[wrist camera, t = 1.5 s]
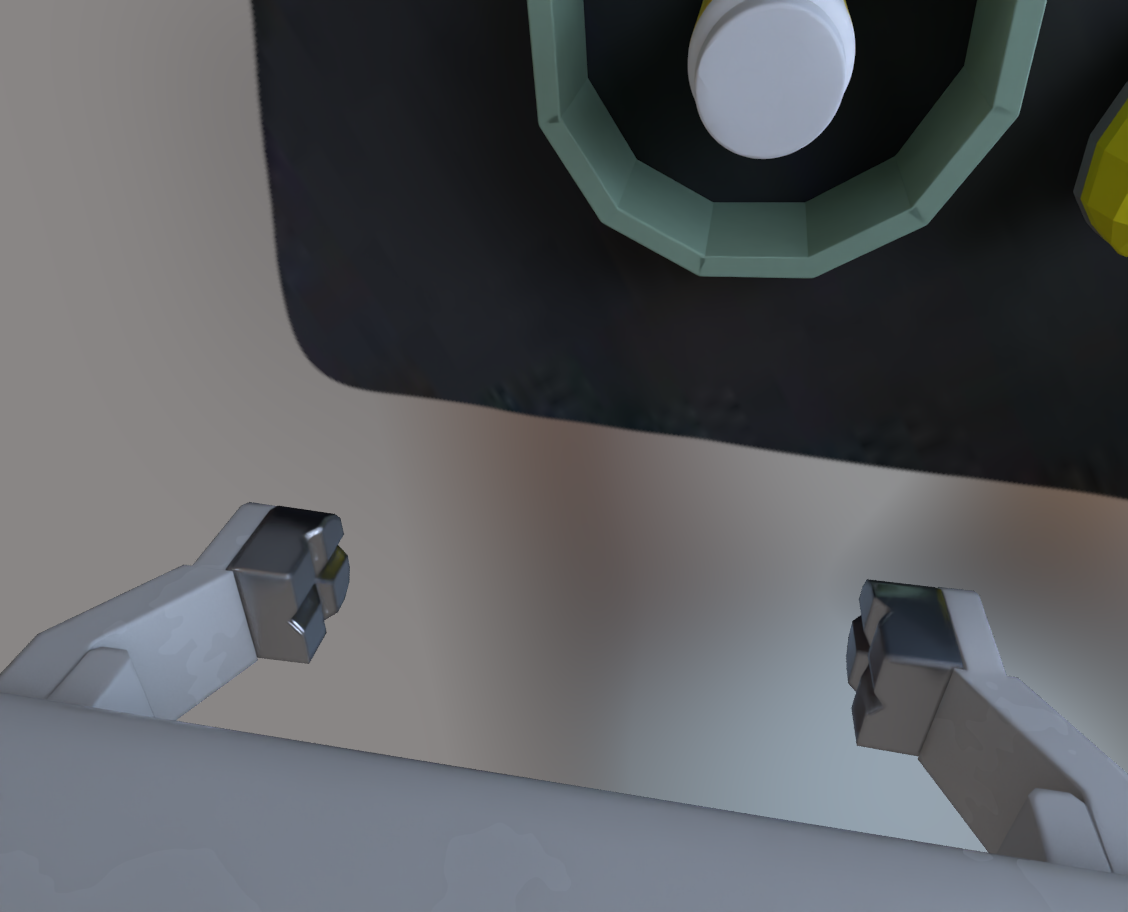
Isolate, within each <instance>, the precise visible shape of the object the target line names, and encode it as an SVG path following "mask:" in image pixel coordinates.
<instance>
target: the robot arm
mask: <svg viewBox="0 0 1128 912" xmlns="http://www.w3.org/2000/svg"><path fill="white" fill-rule="evenodd" d="M343 535H344V533H343V528H342V523H341V519H340V517H338V516H337V515H335V514H331V513H324V512H317V511H311V510H304V509H297V508H290V507H284V506H272V505H266V504H259V503H252V502H249V503H246V504H244V505H242V506H241V507H239V509H238V510H237V511H236V512H235V514H234V515H233V516H232V517H231V519H230V520H229V521H228V522H227V523H226V525H225V526H224V527H223V529H222V530H221V531H220V532H219V533H218V535H217V536H216V537H215V538H214V540H213V541H212V542H211V543H210V544H209V546H208V547H207V548H206V549H205V551H204V552H203V553H202V554H201V555H200V557H199V558H198V559H197V560H196V562H195V563H194V564H193V565H192V566H189V565H182V566H180V567H178V568H176V569H173V570H171V571H169V572H167V573H165V574H163V575H161V576H159V577H157V578H154V579H152V580H150V581H148V582H146V583H144V584H142V585H140V586H138V587H136V588H133V589H131V590H129V591H127V592H125V593H123V594H121V595H119V596H117V597H114V598H113V599H110V600H108V601H107V602H104V603H102V604H100V605H98V606H96V607H93V608H91V609H89V610H87V611H85V612H83V613H81V614H79V615H77V616H75V617H72V618H70V619H68V620H66V621H64V622H62V623H60V624H58V625H56V626H54V627H52V628H49V629H47V630H45V631H43V632H41V633H39V634H37V635H36V636H35V638H34V639H33V640H32V641H31V642H30V643H29V644H28V645H27V646H26V647H25V648H24V649H23V650H22V652H20V653H19V654H18V655H17V656H16V658H15V659H14V660H13V661H12V662H11V663H10V664H9V665H8V666H7V667H6V668H5V669H4V670H3V671H2V672H1V674H0V912H1128V773H1126V772H1125V771H1124V770H1123V769H1122V768H1120V766H1118V765H1117V764H1116V763H1115V762H1114V761H1113V760H1112V759H1110V758H1109V757H1108V756H1107V755H1106V754H1105V753H1104V752H1102V751H1101V750H1100V749H1099V748H1098V747H1096V745H1094V744H1093V743H1092V742H1091V741H1090V740H1089V739H1087V738H1086V737H1085V736H1084V735H1083V734H1082V733H1081V732H1080V731H1078V730H1077V729H1076V728H1075V727H1074V726H1073V725H1071V724H1070V723H1069V722H1068V721H1067V720H1066V719H1065V718H1064V717H1062V716H1061V715H1060V714H1059V713H1058V712H1057V711H1056V710H1054V709H1053V708H1052V707H1051V706H1050V705H1049V704H1047V702H1045V701H1044V700H1043V699H1042V698H1041V697H1040V696H1039V695H1037V694H1036V693H1035V692H1034V691H1033V690H1032V689H1030V688H1029V687H1028V686H1027V685H1026V684H1025V683H1024V682H1023V681H1021V680H1020V679H1019V678H1018V677H1012V676H1007V674H1006V671H1005V669H1004V666H1003V663H1002V660H1001V657H1000V654H999V651H998V648H997V646H996V642H995V640H994V637H993V634H992V631H991V628H990V625H989V622H988V619H987V616H986V613H985V611H984V607H983V604H982V602H981V599H980V596H979V595H978V594H977V593H976V592H975V591H972V590H962V589H952V588H942V587H938V588H935V587H928V586H919V585H911V584H902V583H893V582H885V581H876V580H868V579H867V580H866V582H865V584H864V585H863V587H862V591H861V594H860V597H859V603H860V609H861V616H859V617H858V618H856V619H855V620H853V621H852V626H851V629H850V633H849V637H848V645H847V654H846V660H847V661H846V662H847V676H848V683H849V685H850V686H851V687H852V688H853V689H854V690H855V691H856V695H855V698H854V701H853V705H852V715H853V721H854V729H855V736H856V743H857V746H863V747H868V748H874V749H879V750H886V751H891V752H897V753H902V754H908V755H914V756H919V757H918V760H919V761H920V762H921V764H922V765H923V767H924V768H925V769H926V770H927V772H928V773H929V774H930V776H931V777H932V778H933V780H934V781H935V782H936V784H937V785H938V786H939V788H940V789H941V790H942V792H943V793H944V794H945V795H946V797H947V798H948V800H949V801H950V802H951V803H952V805H953V806H954V808H955V809H956V810H957V811H958V813H959V814H960V815H961V817H962V818H963V819H964V821H965V822H966V823H967V825H968V826H969V827H970V829H971V830H972V831H973V833H974V834H975V835H976V837H977V838H978V839H979V841H980V842H981V843H982V844H983V846H984V847H985V848H986V850H987V851H988V852H989V853H986V852H980V851H974V850H968V849H962V848H955V847H949V846H943V845H936V844H931V843H924V842H918V841H912V840H906V839H900V838H894V837H888V836H882V835H875V834H869V833H863V832H857V831H851V830H844V829H838V828H832V827H826V826H819V825H813V824H807V823H801V822H795V821H788V820H782V819H776V818H770V817H764V816H757V815H751V814H746V813H739V812H734V811H727V810H721V809H715V808H709V807H703V806H696V805H691V804H685V803H679V802H673V801H666V800H660V799H654V798H648V797H641V796H636V795H630V794H624V793H618V792H611V791H605V790H599V789H593V788H586V787H580V786H574V785H568V784H562V783H556V782H550V781H544V780H538V779H531V778H525V777H519V776H513V775H507V774H500V773H494V772H488V771H482V770H476V769H470V768H464V767H457V766H451V765H445V764H439V763H433V762H427V761H420V760H414V759H408V758H402V757H396V756H390V755H383V754H377V753H371V752H364V751H359V750H353V749H347V748H340V747H334V746H328V745H321V744H316V743H310V742H303V741H297V740H291V739H285V738H279V737H273V736H267V735H260V734H254V733H248V732H241V731H236V730H230V729H224V728H217V727H210V726H205V725H199V724H193V723H187V722H181V721H176V720H177V719H178V718H180V717H181V716H182V715H184V714H185V713H186V712H188V711H189V710H191V709H192V708H193V707H195V706H196V705H197V704H199V703H200V702H202V701H203V700H204V699H206V698H207V697H208V696H210V695H211V694H212V693H214V692H215V691H217V690H218V689H219V688H221V687H222V686H223V685H225V684H226V683H228V682H229V681H230V680H232V679H233V678H234V677H236V676H237V675H238V674H240V673H241V672H242V671H244V670H245V669H247V668H248V667H249V666H251V665H252V664H253V663H255V662H256V661H257V660H258V659H257V658H265V659H274V660H282V661H290V662H298V663H307V664H309V663H310V661H311V659H312V658H313V656H314V654H315V652H316V650H317V648H318V647H319V645H320V643H321V642H322V640H323V638H324V636H325V634H326V628H325V623H324V620H326V619H327V618H329V617H331V616H332V615H334V614H335V613H337V612H338V611H339V609H340V607H341V605H342V603H343V601H344V599H345V596H346V592H347V589H348V584H349V576H350V574H349V573H350V566H349V560H348V555H347V554H346V553H345V552H344V551H343V550H342V549H341V548H340V547H339V546H338V543H339V542H340V540H341V538H342V537H343Z"/></svg>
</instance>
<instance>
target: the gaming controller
mask: <svg viewBox="0 0 1128 912" xmlns="http://www.w3.org/2000/svg"><path fill="white" fill-rule="evenodd" d="M1073 193H1074V195H1075V198H1076V200H1077V202H1078V205H1079V207H1080V210H1081V212H1082V214H1083V217H1084V219H1085V221H1086V222H1087V224H1088V225H1089V226H1090V227H1091V228H1092V229H1093V230H1094V232H1095V233H1096V234H1098V235H1099V236H1100V237H1102V238H1103V239H1104V240H1105V241H1107V242H1108V243H1109V244H1110V245H1111V246H1112V247H1113V248H1114V250H1115V251H1116V252H1117V253H1118V254H1120V255H1123V256H1125V257H1128V81H1127V82H1126V84H1125V85H1124V87H1123V88H1122V90H1121V91H1120V92H1119V94H1118V95H1117V97H1116V98H1115V100H1114V101H1113V102H1112V104H1111V105H1110V107H1109V108H1108V110H1107V111H1106V113H1105V114H1104V115H1103V117H1102V118H1101V120H1100V121H1099V123H1098V124H1097V125H1096V127H1095V128H1094V130H1093V131H1092V133H1091V134H1090V136H1089V139H1088V143H1087V146H1086V149H1085V153H1084V156H1083V160H1082V163H1081V166H1080V170H1079V173H1078V177H1077V180H1076V183H1075V187H1074V190H1073Z"/></svg>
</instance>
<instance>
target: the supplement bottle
mask: <svg viewBox="0 0 1128 912" xmlns="http://www.w3.org/2000/svg"><path fill="white" fill-rule="evenodd" d="M854 59H855V35H854V29H853V24H852V21H851V17H850V14H849V11H848V7H847V4H846V1H845V0H703V2H702V6H701V9H700V12H699V15H698V18H697V21H696V24H695V27H694V30H693V33H692V36H691V40H690V44H689V51H688V77H689V83H690V87H691V91H692V94H693V97H694V99H695V102H696V106H697V110H698V113H699V116H700V118H701V120H702V122H703V124H704V126H705V128H706V129H707V131H708V132H709V133H710V135H711V136H712V137H713V138H714V139H715V140H716V141H717V142H718V143H719V144H721V145H722V146H723V147H725V148H726V149H728V150H730V151H731V152H733V153H736V154H738V155H741V156H745V157H749V158H755V159H770V158H777V157H781V156H785V155H788V154H791V153H793V152H795V151H797V150H799V149H801V148H803V147H805V146H806V145H808V144H809V143H811V142H812V141H813V140H814V139H815V138H817V137H818V136H819V135H820V134H821V133H822V132H823V131H824V129H825V128H826V127H827V126H828V124H829V123H830V122H831V120H832V119H833V117H834V116H835V114H836V112H837V110H838V108H839V106H840V103H841V100H842V97H843V94H844V92H845V90H846V88H847V86H848V84H849V81H850V78H851V75H852V71H853V66H854Z"/></svg>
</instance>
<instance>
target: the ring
mask: <svg viewBox="0 0 1128 912" xmlns="http://www.w3.org/2000/svg"><path fill="white" fill-rule="evenodd" d="M1046 2H1047V0H977V3H976V8H975V13H974V18H973V23H972V28H971V33H970V38H969V44H968V49H967V54H966V59H965V64H964V67H963V68H962V69H961V71H960V72H959V73H958V74H957V76H956V77H955V78H954V80H953V81H952V82H951V84H950V85H949V86H948V88H947V89H946V90H945V92H944V93H943V94H942V95H941V97H940V98H939V99H938V101H937V102H936V103H935V105H934V106H933V107H932V109H931V110H930V111H929V112H928V114H927V115H926V116H925V118H924V119H923V120H922V122H921V123H920V124H919V126H918V127H917V128H916V129H915V131H914V132H913V133H912V135H911V136H910V137H909V139H908V140H907V141H906V143H905V144H904V145H903V147H902V148H901V149H900V150H899V152H898V153H897V154H896V156H894V157H892V158H890V159H889V160H887V161H885V162H883V163H881V164H879V165H877V166H875V167H873V168H871V169H869V170H867V171H865V172H863V173H861V174H859V175H857V176H855V177H854V178H852V179H850V180H848V181H846V182H844V183H842V184H840V185H838V186H836V187H834V188H832V189H830V190H828V191H826V192H824V193H822V194H820V195H819V196H817V197H815V198H813V199H811V200H809V201H807V202H711V201H710V200H708V199H706V198H704V197H703V196H701V195H699V194H697V193H696V192H694V191H692V190H690V189H688V188H687V187H685V186H683V185H681V184H680V183H678V182H676V181H674V180H672V179H671V178H669V177H667V176H665V175H664V174H662V173H660V172H658V171H657V170H655V169H653V168H651V167H649V166H648V165H646V164H644V163H642V162H641V161H639V160H637V159H636V157H635V155H634V154H633V152H632V150H631V149H630V147H629V145H628V144H627V142H626V140H625V139H624V137H623V136H622V134H621V132H620V131H619V129H618V127H617V126H616V124H615V122H614V121H613V119H612V117H611V116H610V114H609V112H608V111H607V109H606V107H605V106H604V104H603V102H602V101H601V99H600V97H599V96H598V94H597V92H596V91H595V89H594V87H593V86H592V84H591V82H590V81H589V79H588V73H587V56H586V38H585V21H584V3H583V0H527V8H528V19H529V30H530V40H531V51H532V62H533V72H534V83H535V94H536V104H537V115H538V123H539V127H540V128H541V130H542V131H543V133H544V134H545V136H546V137H547V139H548V140H549V142H550V144H551V145H552V147H553V148H554V150H555V151H556V153H557V154H558V156H559V158H560V159H561V161H562V162H563V164H564V165H565V167H566V168H567V170H568V172H569V173H570V175H571V176H572V178H573V179H574V181H575V182H576V184H577V185H578V187H579V189H580V190H581V192H582V193H583V195H584V196H585V198H586V199H587V201H588V203H589V204H590V206H591V207H592V209H593V210H594V212H595V213H596V215H597V216H598V218H599V220H600V221H601V222H602V223H603V224H605V225H607V226H609V227H610V228H612V229H614V230H616V231H618V232H619V233H621V234H623V235H625V236H627V237H629V238H630V239H632V240H634V241H636V242H638V243H639V244H641V245H643V246H645V247H647V248H649V249H650V250H652V251H654V252H656V253H658V254H659V255H661V256H663V257H665V258H667V259H669V260H670V261H672V262H674V263H676V264H678V265H679V266H681V267H683V268H685V269H687V270H689V271H690V272H692V273H694V274H696V275H698V276H710V277H765V278H814V277H816V276H819V275H821V274H823V273H825V272H827V271H829V270H832V269H834V268H836V267H838V266H840V265H842V264H844V263H847V262H849V261H851V260H853V259H855V258H857V257H859V256H862V255H864V254H866V253H868V252H870V251H872V250H874V249H877V248H879V247H881V246H883V245H885V244H887V243H889V242H892V241H894V240H896V239H898V238H900V237H902V236H904V235H907V234H909V233H911V232H913V231H915V230H917V229H919V228H922V227H924V226H926V225H927V224H928V223H929V222H930V221H931V220H932V218H933V217H934V216H935V215H936V214H937V212H938V211H939V210H940V209H941V208H942V206H943V205H944V204H945V203H946V202H947V201H948V199H949V198H950V197H951V196H952V195H953V193H954V192H955V191H956V190H957V189H958V187H959V186H960V185H961V184H962V183H963V181H964V180H965V179H966V178H967V177H968V176H969V174H970V173H971V172H972V171H973V170H974V168H975V167H976V166H977V165H978V164H979V162H980V161H981V160H982V159H983V158H984V156H985V155H986V154H987V153H988V152H989V151H990V149H991V148H992V147H993V146H994V145H995V143H996V142H997V141H998V140H999V139H1000V137H1001V136H1002V135H1003V134H1004V133H1005V132H1006V130H1007V129H1008V128H1009V127H1010V126H1011V124H1012V123H1013V122H1014V121H1015V120H1016V118H1017V117H1018V116H1019V113H1020V109H1021V105H1022V101H1023V97H1024V92H1025V88H1026V84H1027V80H1028V76H1029V72H1030V68H1031V64H1032V60H1033V56H1034V51H1035V47H1036V43H1037V39H1038V35H1039V31H1040V27H1041V23H1042V19H1043V15H1044V10H1045V6H1046Z"/></svg>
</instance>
